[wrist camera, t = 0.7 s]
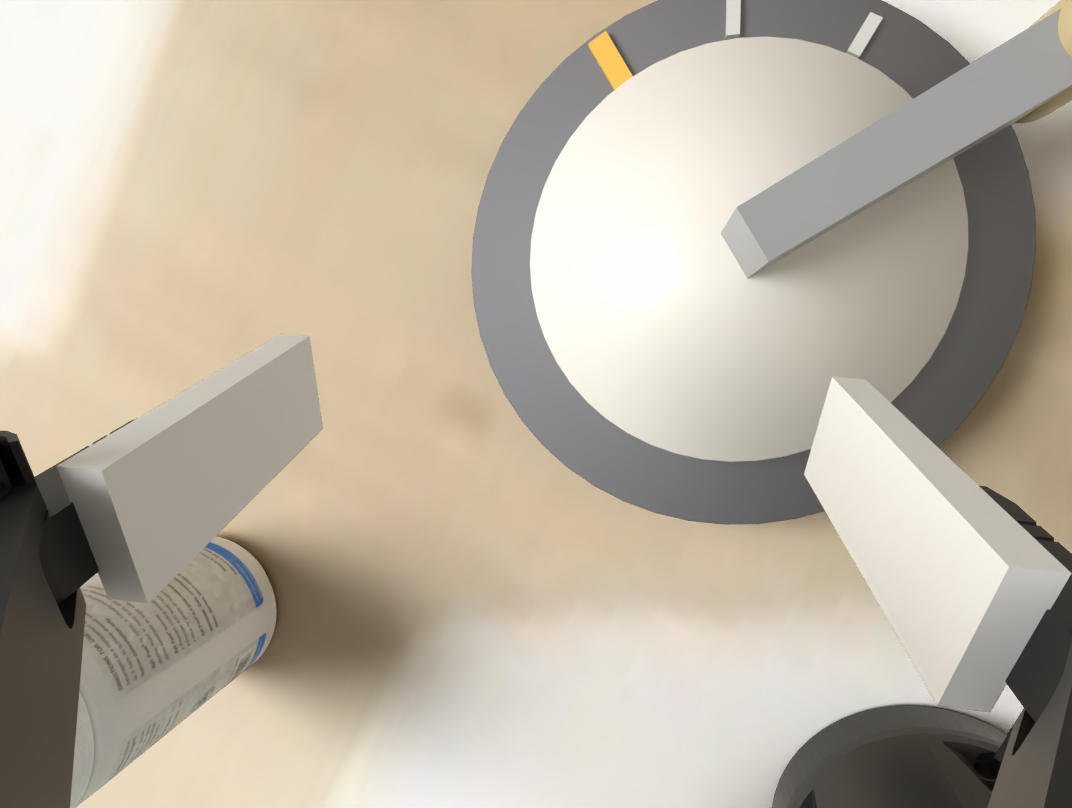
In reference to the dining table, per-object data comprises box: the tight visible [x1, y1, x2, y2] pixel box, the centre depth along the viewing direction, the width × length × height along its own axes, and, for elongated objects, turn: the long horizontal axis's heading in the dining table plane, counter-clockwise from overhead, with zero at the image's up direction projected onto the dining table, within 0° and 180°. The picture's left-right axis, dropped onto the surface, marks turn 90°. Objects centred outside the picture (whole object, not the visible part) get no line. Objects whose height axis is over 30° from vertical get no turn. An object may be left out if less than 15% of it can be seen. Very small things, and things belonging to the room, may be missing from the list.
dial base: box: [471, 0, 1036, 524], centre depth 28 cm, size 26×26×3 cm
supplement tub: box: [70, 536, 277, 808], centre depth 30 cm, size 10×10×15 cm
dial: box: [530, 0, 1072, 462], centre depth 23 cm, size 24×19×7 cm
